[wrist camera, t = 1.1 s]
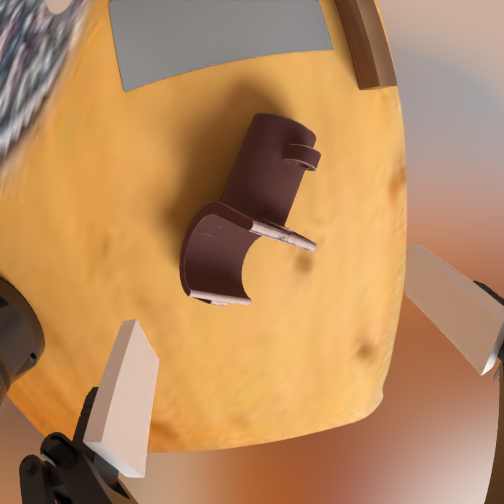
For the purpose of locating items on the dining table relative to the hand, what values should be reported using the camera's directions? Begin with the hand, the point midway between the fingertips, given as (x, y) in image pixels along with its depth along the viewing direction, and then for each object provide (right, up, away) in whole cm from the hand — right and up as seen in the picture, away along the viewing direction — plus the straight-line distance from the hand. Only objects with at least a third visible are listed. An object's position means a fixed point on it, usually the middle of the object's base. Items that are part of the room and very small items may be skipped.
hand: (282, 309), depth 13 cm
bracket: (-2, +7, +15) cm, 17 cm away
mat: (-4, +25, +7) cm, 26 cm away
